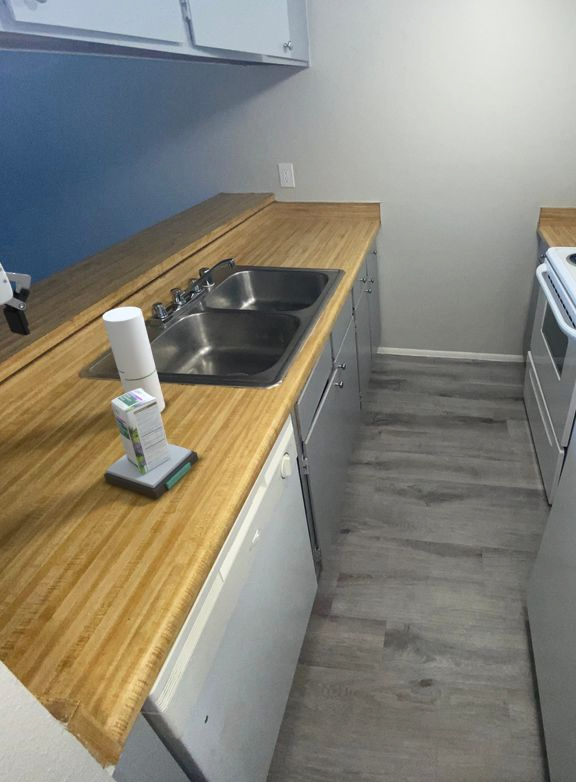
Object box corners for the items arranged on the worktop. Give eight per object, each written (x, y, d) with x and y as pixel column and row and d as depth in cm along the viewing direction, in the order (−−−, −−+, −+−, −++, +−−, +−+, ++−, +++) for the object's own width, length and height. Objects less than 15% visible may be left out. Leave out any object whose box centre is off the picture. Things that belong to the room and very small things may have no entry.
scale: (107, 484, 90) (102, 471, 88) (151, 447, 99) (148, 434, 97) (159, 502, 86) (155, 489, 85) (200, 462, 96) (197, 449, 94)
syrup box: (127, 462, 90) (107, 400, 83) (156, 445, 95) (140, 385, 88) (143, 475, 87) (124, 413, 81) (173, 457, 92) (157, 396, 85)
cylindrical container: (151, 398, 114) (126, 304, 102) (172, 406, 111) (149, 311, 99) (124, 414, 108) (94, 316, 96) (145, 423, 105) (117, 324, 94)
